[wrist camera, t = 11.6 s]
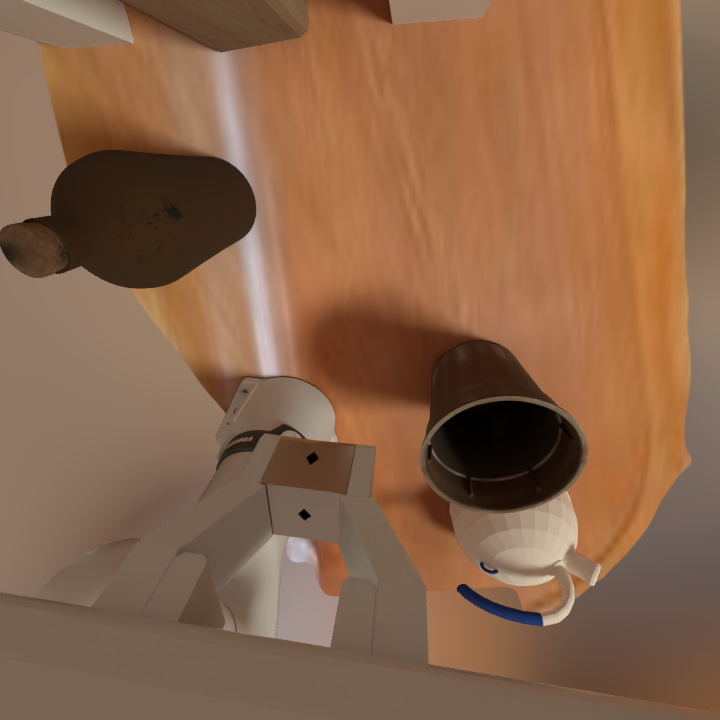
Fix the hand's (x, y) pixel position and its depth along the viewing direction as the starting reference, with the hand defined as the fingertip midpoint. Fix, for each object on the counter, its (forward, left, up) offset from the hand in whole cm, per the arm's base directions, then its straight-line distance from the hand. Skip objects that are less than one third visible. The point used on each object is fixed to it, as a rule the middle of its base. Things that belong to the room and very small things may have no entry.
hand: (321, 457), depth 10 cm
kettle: (-21, -48, -38) cm, 64 cm away
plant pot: (-7, -23, -37) cm, 44 cm away
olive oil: (-12, +17, -37) cm, 43 cm away
